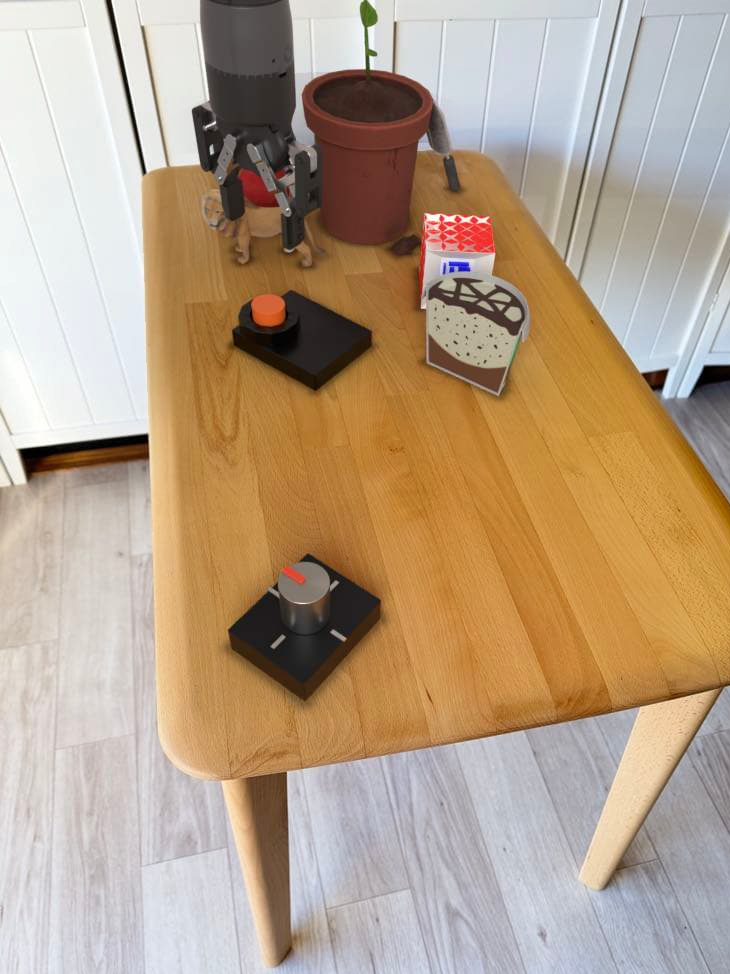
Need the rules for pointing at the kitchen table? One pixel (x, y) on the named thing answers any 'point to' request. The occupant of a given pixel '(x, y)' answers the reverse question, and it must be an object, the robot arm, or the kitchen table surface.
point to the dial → (304, 597)
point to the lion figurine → (250, 225)
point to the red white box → (455, 246)
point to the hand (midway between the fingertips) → (263, 231)
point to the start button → (268, 310)
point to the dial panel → (305, 656)
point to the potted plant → (372, 147)
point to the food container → (474, 327)
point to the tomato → (259, 189)
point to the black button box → (303, 340)
